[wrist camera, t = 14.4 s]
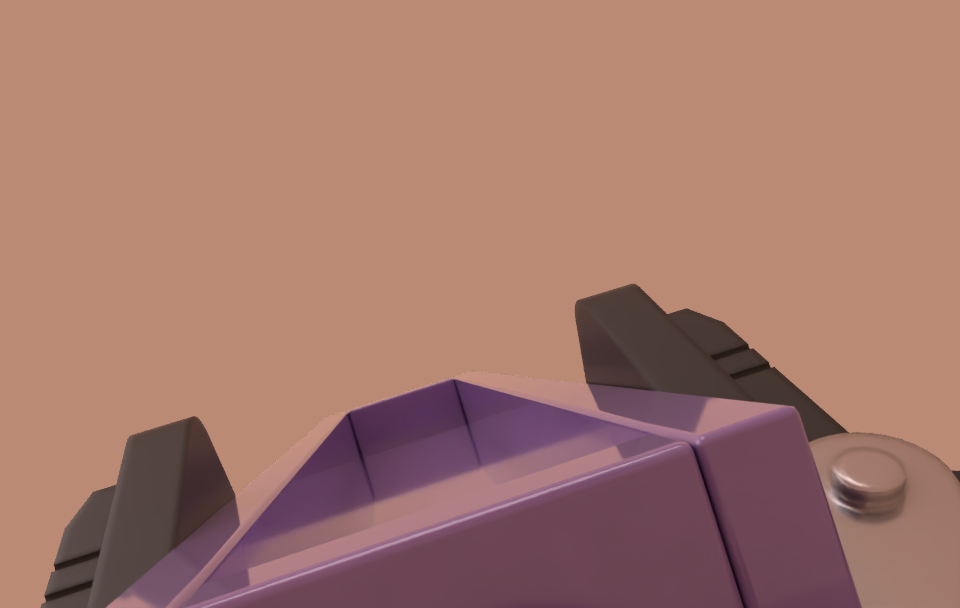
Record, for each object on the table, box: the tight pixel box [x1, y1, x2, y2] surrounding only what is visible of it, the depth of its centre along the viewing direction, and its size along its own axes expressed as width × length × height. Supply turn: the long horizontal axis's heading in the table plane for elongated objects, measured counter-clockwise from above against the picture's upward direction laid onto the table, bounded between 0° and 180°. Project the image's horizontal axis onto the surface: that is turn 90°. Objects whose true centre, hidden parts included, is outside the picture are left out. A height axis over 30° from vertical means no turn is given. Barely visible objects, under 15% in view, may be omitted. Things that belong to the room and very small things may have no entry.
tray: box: [106, 371, 862, 608], centre depth 15 cm, size 5×20×2 cm, turn 7°
